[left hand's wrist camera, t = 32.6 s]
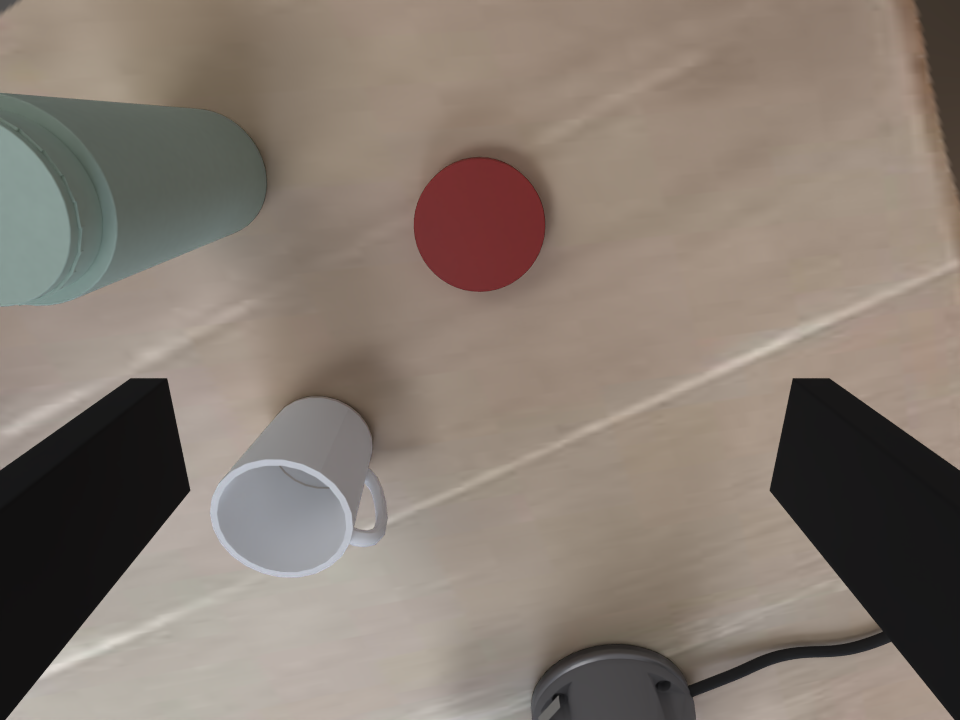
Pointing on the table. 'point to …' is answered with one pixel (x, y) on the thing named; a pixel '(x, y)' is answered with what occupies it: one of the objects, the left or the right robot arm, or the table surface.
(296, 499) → the mug
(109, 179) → the jar
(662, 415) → the table surface
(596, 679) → the left robot arm
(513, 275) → the lid
